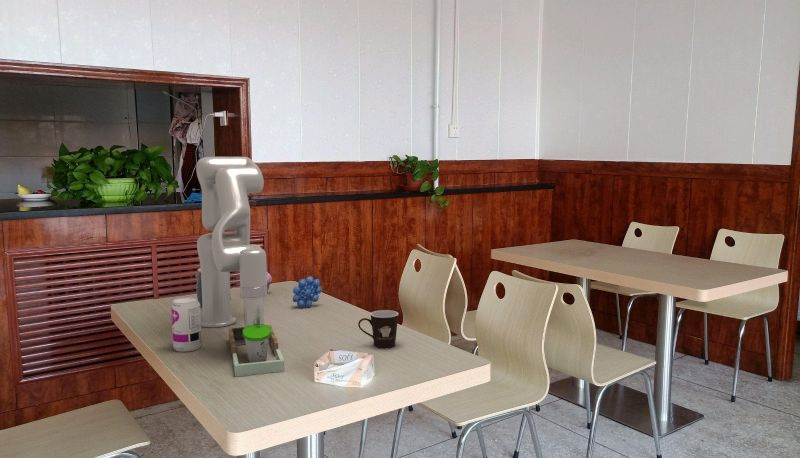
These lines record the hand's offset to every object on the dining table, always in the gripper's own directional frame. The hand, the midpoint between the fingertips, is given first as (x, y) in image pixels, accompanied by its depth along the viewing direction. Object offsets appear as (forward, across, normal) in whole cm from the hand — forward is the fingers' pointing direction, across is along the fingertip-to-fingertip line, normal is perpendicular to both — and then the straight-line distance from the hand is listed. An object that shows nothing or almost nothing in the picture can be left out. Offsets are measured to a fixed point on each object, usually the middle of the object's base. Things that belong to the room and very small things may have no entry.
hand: (256, 353), depth 181 cm
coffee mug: (+2, -1, +38) cm, 38 cm away
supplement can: (+1, -16, -19) cm, 25 cm away
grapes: (+1, -55, +24) cm, 60 cm away
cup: (+1, +5, 0) cm, 5 cm away
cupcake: (+1, -82, +10) cm, 83 cm away
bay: (+1, +8, 0) cm, 8 cm away
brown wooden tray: (+1, -10, 0) cm, 10 cm away
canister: (+1, -70, -10) cm, 71 cm away
